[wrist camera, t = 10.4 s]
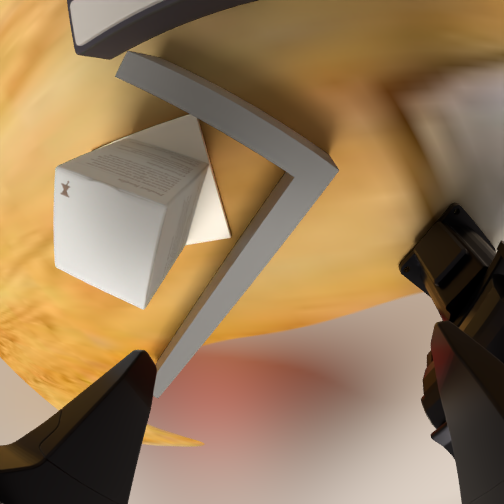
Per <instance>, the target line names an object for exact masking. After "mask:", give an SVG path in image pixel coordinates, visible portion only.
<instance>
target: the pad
mask: <svg viewBox="0 0 504 504" xmlns="http://www.w3.org/2000/svg"><path fill="white" fill-rule="evenodd" d="M125 138H130V139H134V140H137V141H141V142H144V143H148V144H151V145H155V146H158V147H161V148H164V149H168V150H171V151H174V152H177V153H180V154H183V155H186V156H189V157H192V158H195V159H197V160H200V161H203V162H206V163H208V164H209V167H208V170H207V173H206V176H205V180H204V183H203V186H202V189H201V193H200V196H199V200H198V203H197V207H196V210H195V214H194V217H193V221H192V224H191V228H190V231H189V235H188V239H187V242H186V245H190V244H196V243H201V242H207V241H213V240H219V239H225V238H231V233H230V229H229V226H228V222H227V219H226V215H225V212H224V208H223V205H222V201H221V198H220V194H219V191H218V187H217V184H216V180H215V177H214V173H213V170H212V166H211V163H210V159H209V155H208V152H207V148H206V145H205V141H204V137H203V134H202V130H201V127H200V123H199V119H198V118H196V117H194V116H193V115H191V114H189V115H185V116H182V117H179V118H176V119H173V120H170V121H167V122H164V123H161V124H158V125H156V126H153V127H150V128H147V129H145V130H142V131H139V132H137V133H134V134H131V135H129V136H126V137H124V138H121V139H119V140H117V141H120V140H122V139H125ZM117 141H114V142H117ZM114 142H112V143H114ZM112 143H109V144H112ZM109 144H107V145H109ZM105 146H106V145H105ZM102 147H104V146H102ZM100 148H101V147H100Z"/></svg>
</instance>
